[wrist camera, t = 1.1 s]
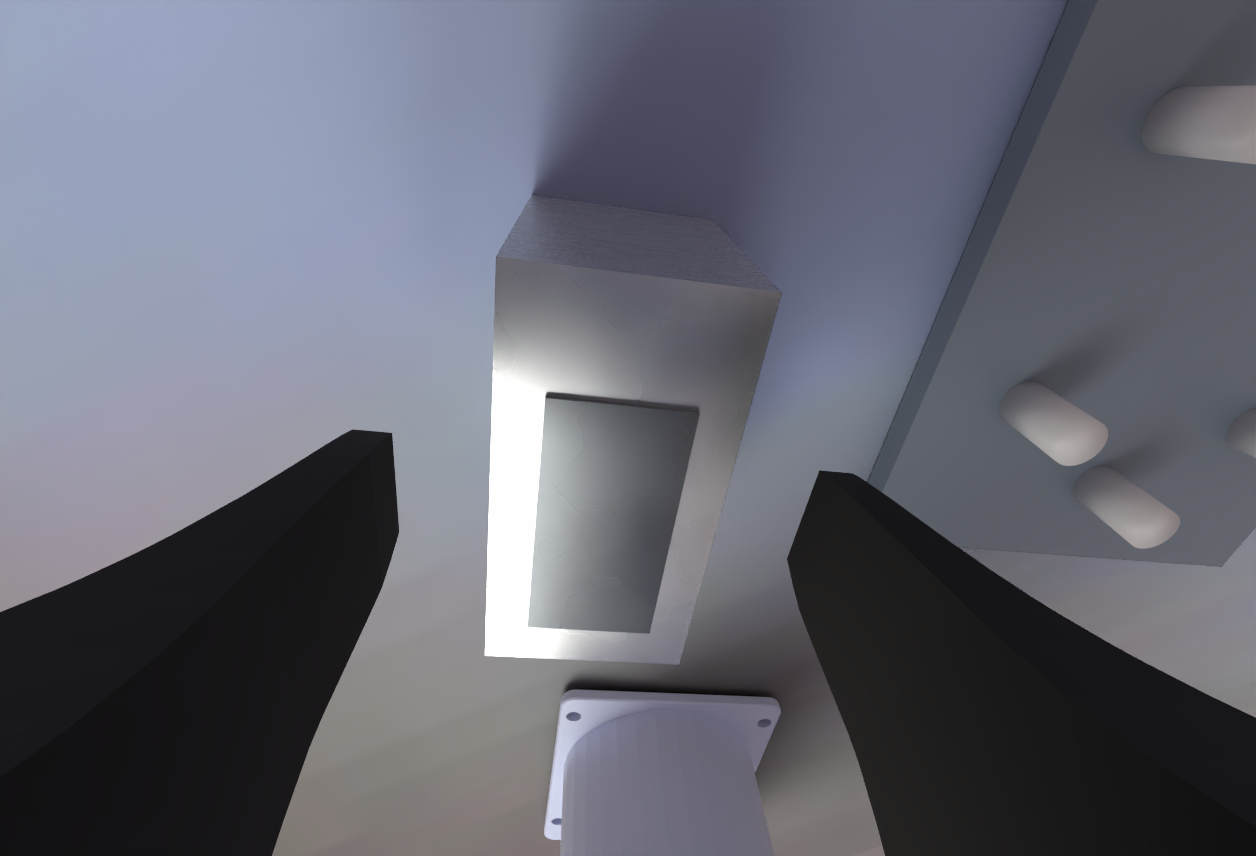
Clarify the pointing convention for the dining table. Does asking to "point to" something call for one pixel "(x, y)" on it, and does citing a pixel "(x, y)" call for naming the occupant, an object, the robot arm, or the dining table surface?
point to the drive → (614, 425)
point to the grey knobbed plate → (1103, 306)
